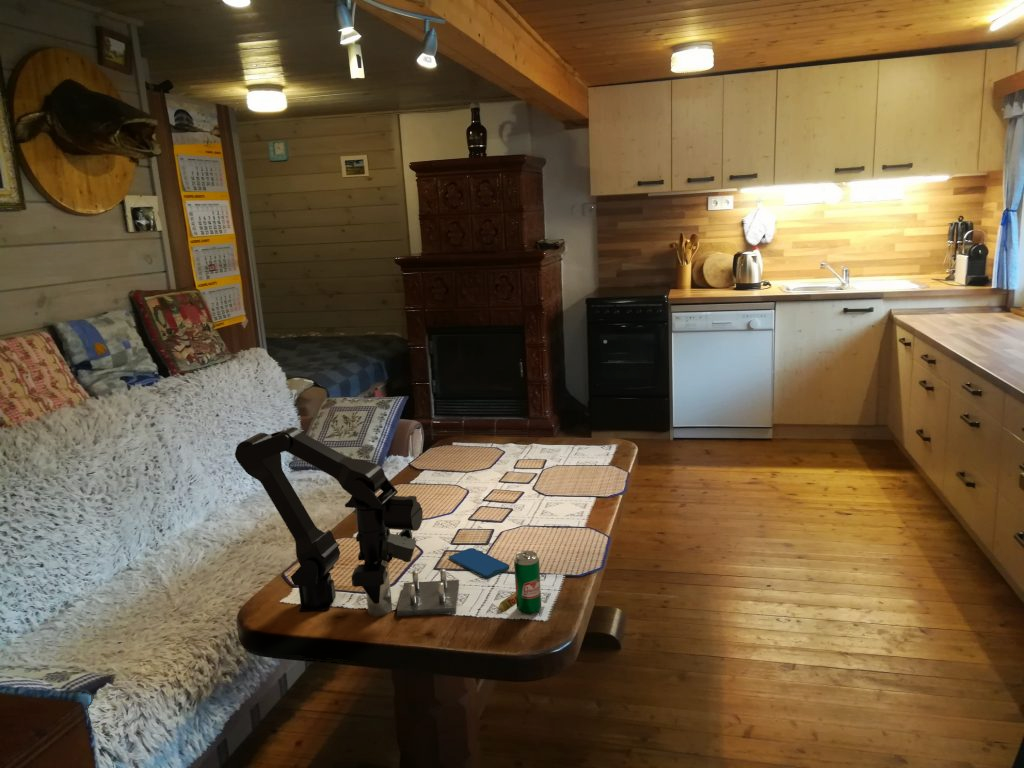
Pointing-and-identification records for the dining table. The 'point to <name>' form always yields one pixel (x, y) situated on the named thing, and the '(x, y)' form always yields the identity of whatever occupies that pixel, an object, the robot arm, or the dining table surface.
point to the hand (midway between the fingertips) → (378, 596)
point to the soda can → (527, 582)
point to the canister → (381, 598)
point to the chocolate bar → (508, 602)
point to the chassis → (428, 596)
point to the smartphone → (479, 563)
